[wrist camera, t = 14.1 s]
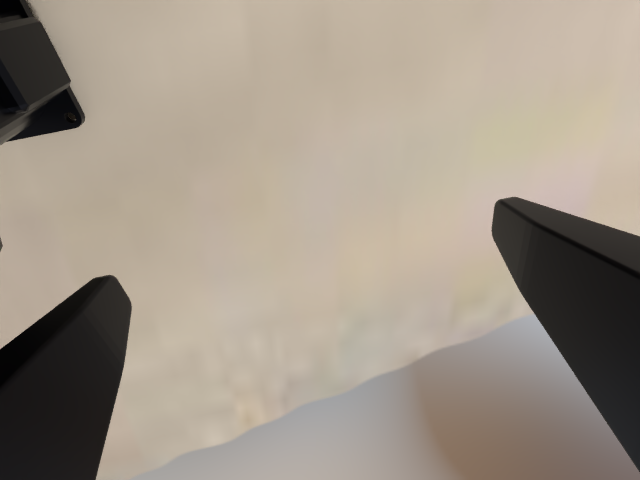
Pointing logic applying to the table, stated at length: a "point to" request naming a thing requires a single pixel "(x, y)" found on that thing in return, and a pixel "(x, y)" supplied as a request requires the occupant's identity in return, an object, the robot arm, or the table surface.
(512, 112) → the table surface
